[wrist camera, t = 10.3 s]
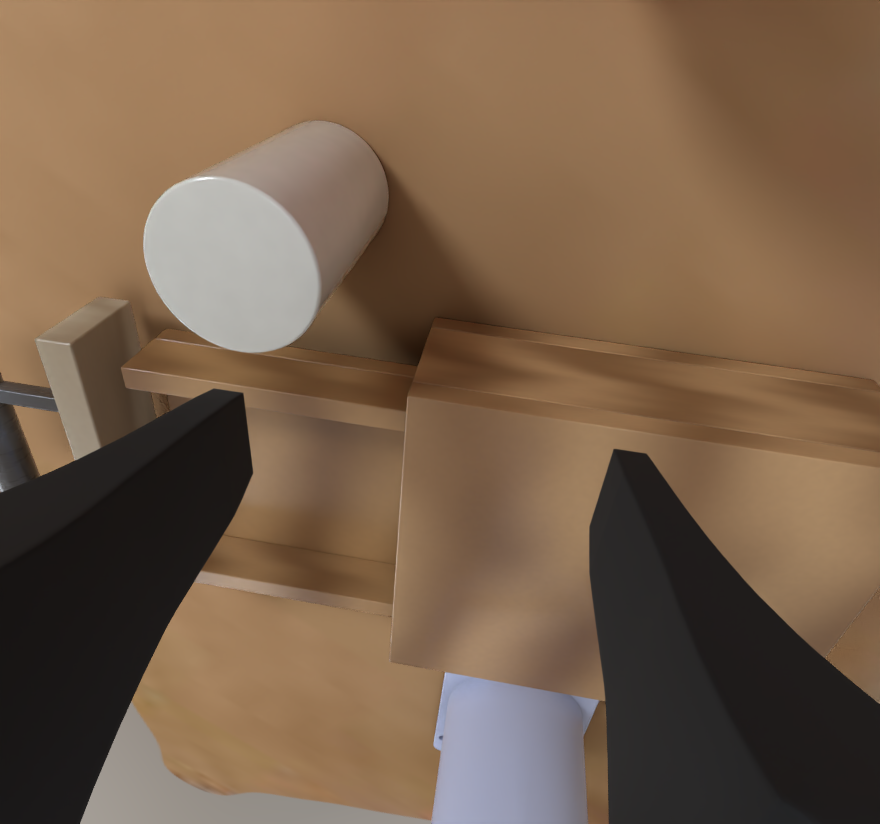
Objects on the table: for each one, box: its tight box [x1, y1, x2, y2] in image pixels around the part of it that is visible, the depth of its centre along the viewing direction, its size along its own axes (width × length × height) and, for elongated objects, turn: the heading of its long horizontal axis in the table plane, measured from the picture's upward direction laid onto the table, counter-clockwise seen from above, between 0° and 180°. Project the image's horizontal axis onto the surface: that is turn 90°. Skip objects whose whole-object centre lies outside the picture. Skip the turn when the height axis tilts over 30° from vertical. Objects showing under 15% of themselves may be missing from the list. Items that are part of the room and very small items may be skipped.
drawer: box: [0, 297, 418, 617], centre depth 23 cm, size 18×11×3 cm, turn 85°
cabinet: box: [389, 317, 880, 701], centre depth 22 cm, size 15×13×5 cm
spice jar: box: [143, 120, 389, 353], centre depth 16 cm, size 4×4×7 cm
